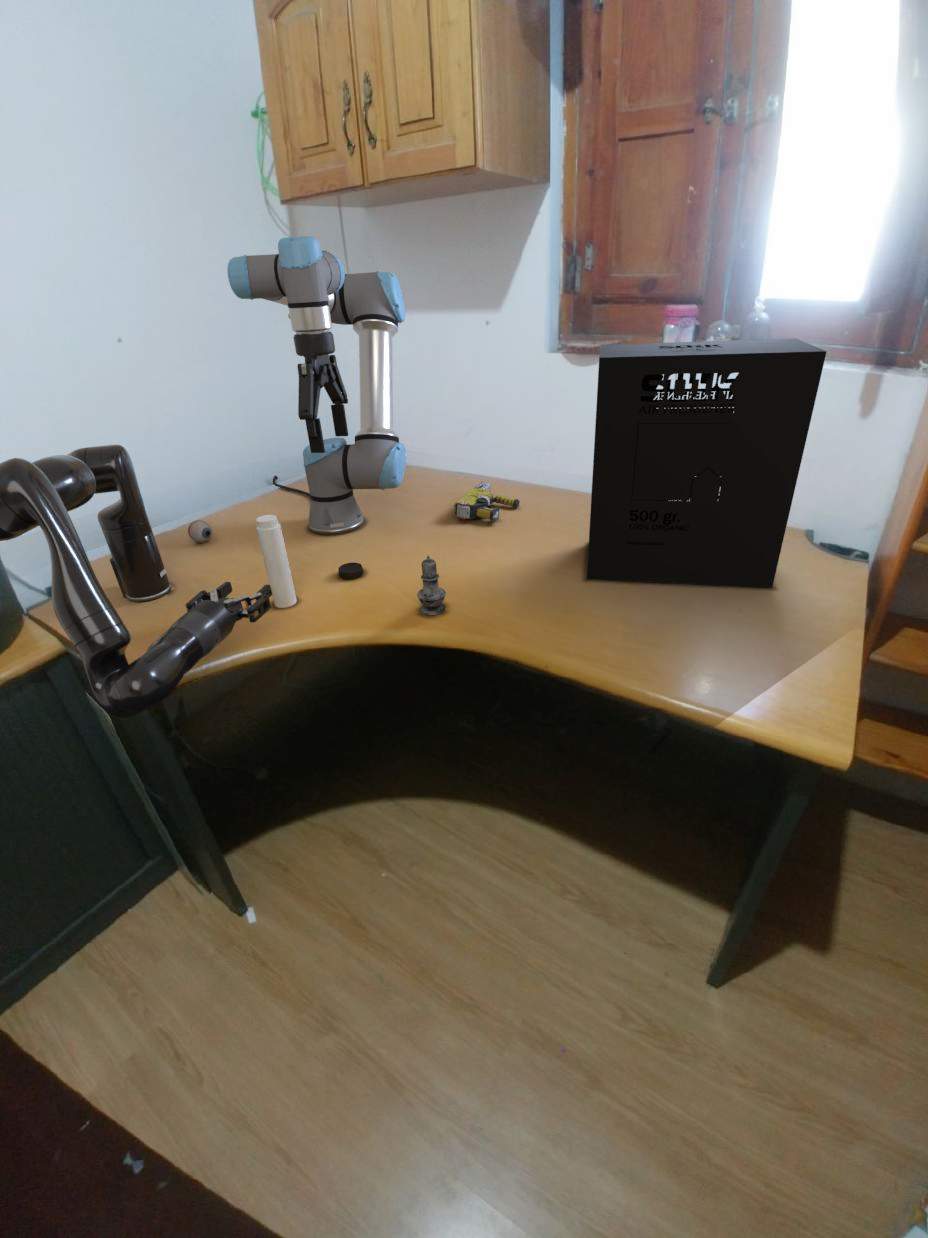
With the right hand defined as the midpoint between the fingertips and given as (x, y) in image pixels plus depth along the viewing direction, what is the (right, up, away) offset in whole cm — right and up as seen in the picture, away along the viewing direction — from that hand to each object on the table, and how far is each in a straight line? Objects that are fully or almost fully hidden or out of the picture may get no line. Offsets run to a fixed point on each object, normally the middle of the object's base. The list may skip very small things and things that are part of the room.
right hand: (330, 443), depth 126 cm
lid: (+1, -25, +14) cm, 29 cm away
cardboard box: (+75, -24, +11) cm, 80 cm away
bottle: (-11, -33, +4) cm, 35 cm away
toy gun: (+36, -5, +48) cm, 60 cm away
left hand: (-14, -30, -9) cm, 35 cm away
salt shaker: (+22, -35, -2) cm, 41 cm away
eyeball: (-43, -16, +37) cm, 59 cm away
